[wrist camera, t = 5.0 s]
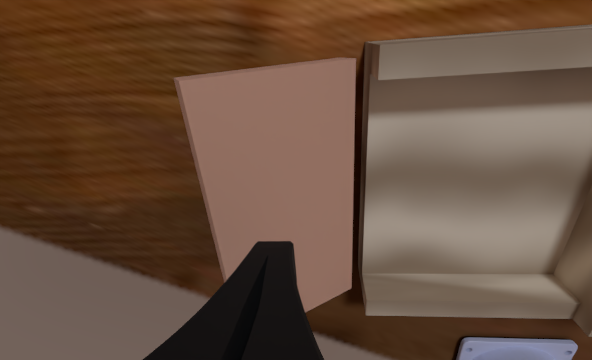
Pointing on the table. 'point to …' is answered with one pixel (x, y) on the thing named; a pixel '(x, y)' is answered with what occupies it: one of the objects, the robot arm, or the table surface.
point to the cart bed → (478, 176)
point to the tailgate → (278, 165)
